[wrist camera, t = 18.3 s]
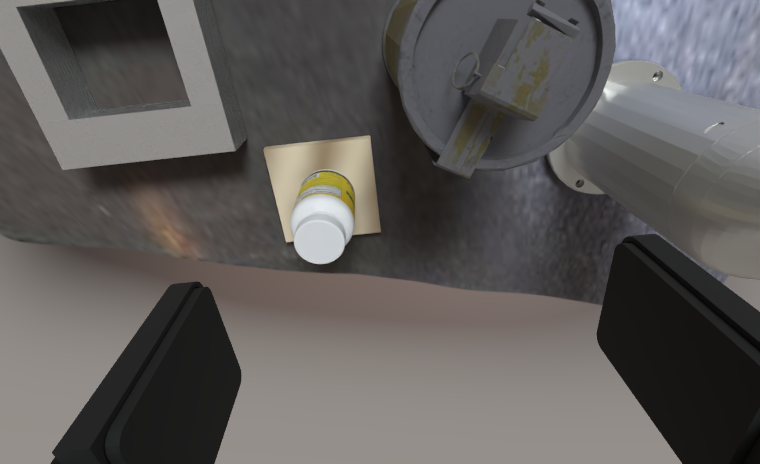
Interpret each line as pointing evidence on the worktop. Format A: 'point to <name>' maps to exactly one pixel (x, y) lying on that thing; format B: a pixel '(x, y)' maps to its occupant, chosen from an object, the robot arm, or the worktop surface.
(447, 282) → the worktop surface
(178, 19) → the socket block
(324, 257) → the supplement bottle
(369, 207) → the oak board
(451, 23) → the canister
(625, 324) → the robot arm
